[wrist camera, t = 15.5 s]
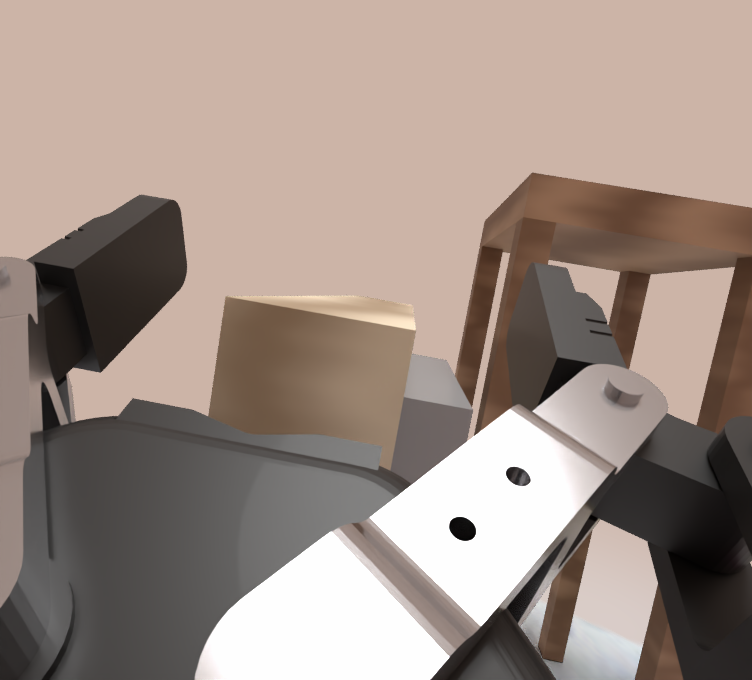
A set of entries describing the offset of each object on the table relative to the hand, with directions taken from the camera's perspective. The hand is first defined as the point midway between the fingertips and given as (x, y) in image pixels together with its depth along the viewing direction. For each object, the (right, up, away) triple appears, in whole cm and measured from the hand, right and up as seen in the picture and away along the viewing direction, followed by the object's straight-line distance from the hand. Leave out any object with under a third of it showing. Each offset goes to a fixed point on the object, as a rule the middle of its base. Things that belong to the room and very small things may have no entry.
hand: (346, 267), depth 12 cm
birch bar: (0, -3, +10) cm, 10 cm away
